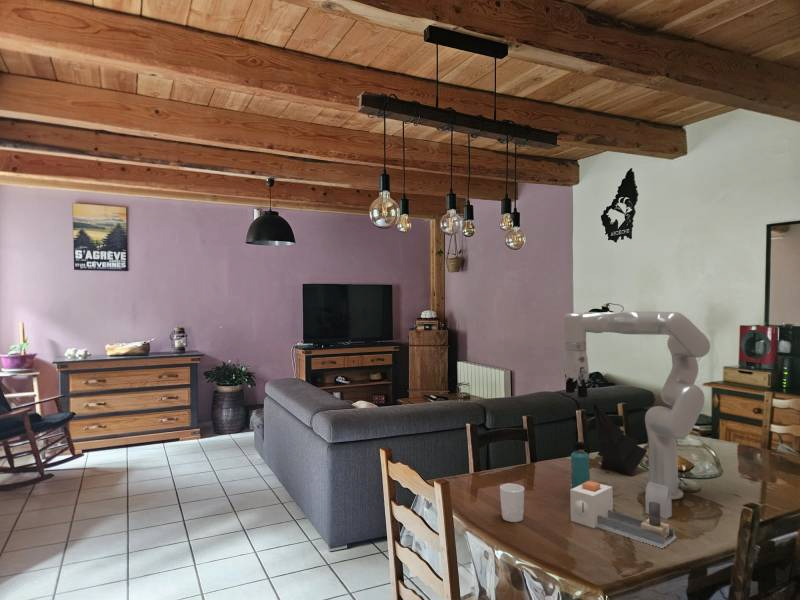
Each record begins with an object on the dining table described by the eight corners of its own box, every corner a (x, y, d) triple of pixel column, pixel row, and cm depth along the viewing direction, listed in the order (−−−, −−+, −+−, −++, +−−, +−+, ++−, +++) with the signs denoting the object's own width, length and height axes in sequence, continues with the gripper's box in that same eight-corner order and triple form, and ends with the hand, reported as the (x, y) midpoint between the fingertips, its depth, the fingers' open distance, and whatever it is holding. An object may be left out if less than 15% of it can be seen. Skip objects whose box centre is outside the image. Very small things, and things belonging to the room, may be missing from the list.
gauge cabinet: (590, 510, 174) (589, 480, 175) (613, 517, 168) (612, 486, 169) (570, 521, 166) (569, 489, 167) (593, 528, 160) (592, 496, 160)
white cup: (497, 514, 173) (496, 484, 173) (520, 512, 174) (519, 482, 174) (504, 523, 165) (503, 492, 165) (528, 522, 166) (527, 491, 166)
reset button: (589, 492, 170) (588, 480, 171) (600, 496, 167) (600, 483, 167) (582, 495, 168) (582, 483, 168) (594, 499, 165) (593, 486, 165)
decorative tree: (604, 474, 222) (569, 413, 212) (622, 449, 228) (588, 389, 218) (634, 483, 209) (598, 419, 200) (652, 457, 215) (618, 394, 206)
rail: (610, 519, 167) (610, 509, 167) (675, 539, 152) (675, 528, 152) (596, 527, 162) (596, 516, 162) (662, 548, 146) (662, 537, 146)
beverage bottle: (592, 502, 182) (590, 445, 182) (572, 501, 183) (571, 444, 184) (589, 495, 188) (588, 440, 189) (570, 494, 190) (569, 439, 190)
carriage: (648, 528, 156) (647, 498, 156) (669, 535, 152) (668, 504, 152) (641, 533, 153) (640, 503, 153) (662, 540, 148) (661, 508, 149)
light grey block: (666, 519, 166) (665, 488, 166) (645, 513, 172) (645, 483, 172) (671, 516, 169) (671, 486, 169) (651, 510, 174) (650, 480, 174)
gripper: (596, 348, 178) (598, 398, 178) (574, 345, 195) (575, 390, 195) (576, 349, 177) (577, 399, 177) (555, 345, 194) (556, 391, 194)
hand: (576, 394), depth 186 cm, fingers open, 9 cm apart
